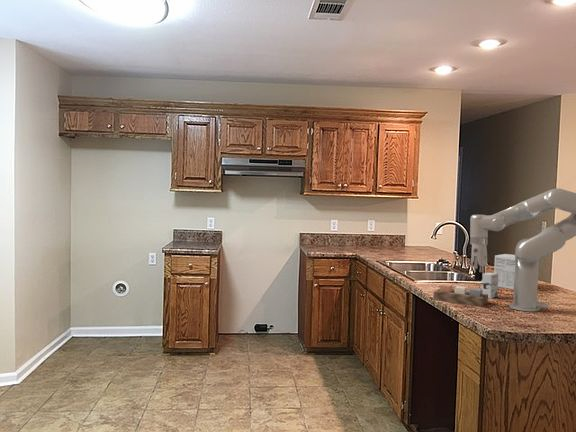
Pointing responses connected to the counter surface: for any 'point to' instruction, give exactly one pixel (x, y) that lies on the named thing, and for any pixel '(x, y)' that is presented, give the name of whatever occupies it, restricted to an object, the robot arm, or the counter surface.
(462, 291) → the key ivory
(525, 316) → the counter surface
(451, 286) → the key terracotta
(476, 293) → the key slate
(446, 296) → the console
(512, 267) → the supplement box
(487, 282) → the ink box
